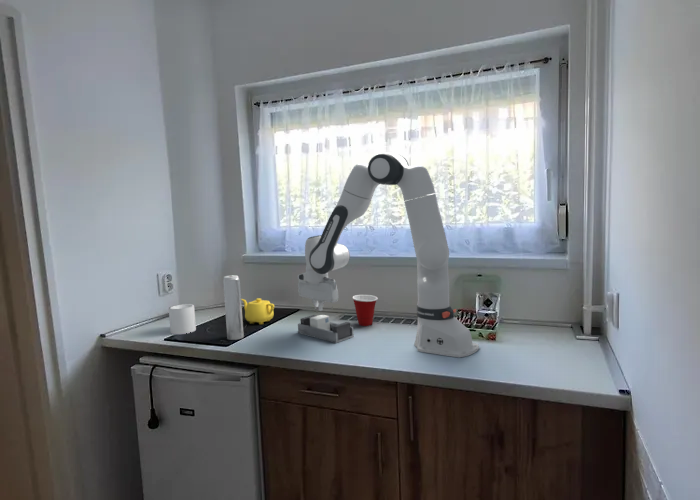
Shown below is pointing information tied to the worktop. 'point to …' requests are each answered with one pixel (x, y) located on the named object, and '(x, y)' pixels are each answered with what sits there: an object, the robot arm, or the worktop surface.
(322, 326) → the block
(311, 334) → the grey rectangular tray
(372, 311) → the plastic cup
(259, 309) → the teapot
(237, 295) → the silver cylinder
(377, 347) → the worktop surface
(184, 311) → the mug
